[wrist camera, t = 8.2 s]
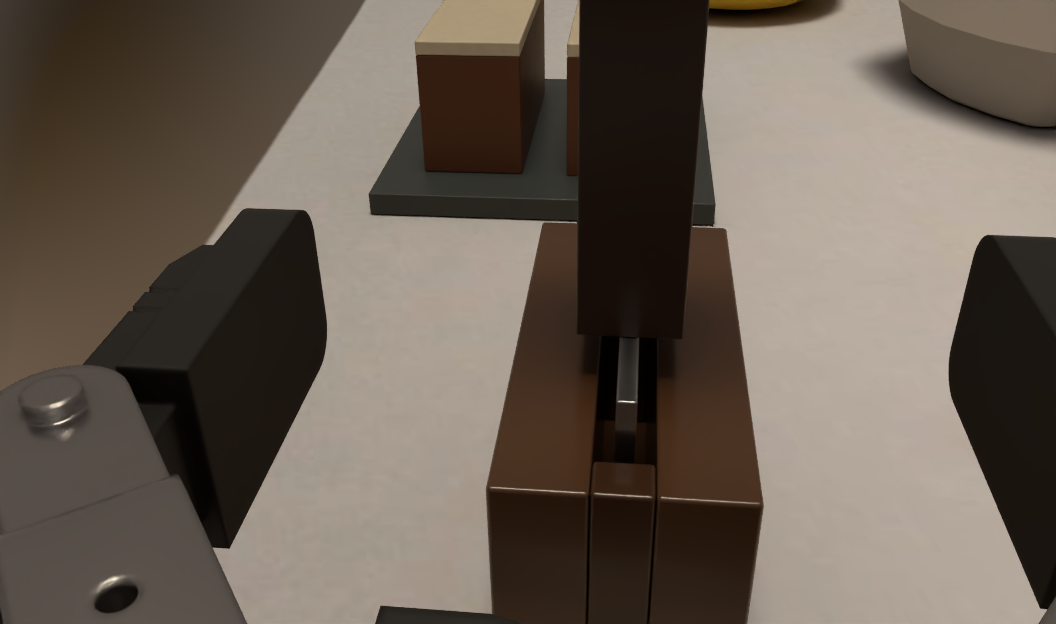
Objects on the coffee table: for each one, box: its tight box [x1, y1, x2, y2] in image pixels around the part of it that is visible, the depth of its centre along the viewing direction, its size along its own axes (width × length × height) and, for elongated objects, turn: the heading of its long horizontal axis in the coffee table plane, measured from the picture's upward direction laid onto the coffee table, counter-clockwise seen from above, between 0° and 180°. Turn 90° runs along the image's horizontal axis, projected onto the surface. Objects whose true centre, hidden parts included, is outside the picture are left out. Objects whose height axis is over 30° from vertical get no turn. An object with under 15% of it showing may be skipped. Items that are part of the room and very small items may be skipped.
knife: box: [576, 0, 709, 464], centre depth 22 cm, size 8×2×14 cm, turn 174°
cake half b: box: [415, 0, 545, 174], centre depth 48 cm, size 11×4×6 cm, turn 174°
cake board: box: [369, 79, 715, 225], centre depth 50 cm, size 16×15×1 cm
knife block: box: [486, 223, 764, 624], centre depth 24 cm, size 11×5×7 cm, turn 174°
